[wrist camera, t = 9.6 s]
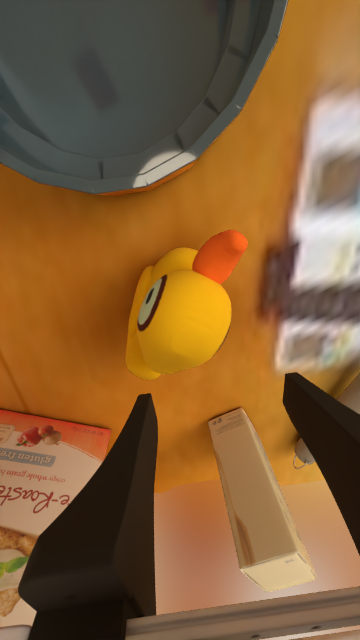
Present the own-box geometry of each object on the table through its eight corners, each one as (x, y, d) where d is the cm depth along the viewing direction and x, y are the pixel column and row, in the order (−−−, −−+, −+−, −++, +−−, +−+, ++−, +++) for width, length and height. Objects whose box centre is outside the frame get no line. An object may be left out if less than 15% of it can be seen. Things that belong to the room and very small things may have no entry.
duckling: (175, 199, 17) (189, 198, 8) (237, 236, 18) (308, 272, 9) (114, 327, 21) (79, 420, 12) (169, 349, 22) (173, 448, 14)
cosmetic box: (206, 419, 27) (235, 569, 16) (242, 405, 26) (298, 550, 15) (227, 451, 30) (265, 597, 19) (260, 438, 29) (320, 582, 18)
